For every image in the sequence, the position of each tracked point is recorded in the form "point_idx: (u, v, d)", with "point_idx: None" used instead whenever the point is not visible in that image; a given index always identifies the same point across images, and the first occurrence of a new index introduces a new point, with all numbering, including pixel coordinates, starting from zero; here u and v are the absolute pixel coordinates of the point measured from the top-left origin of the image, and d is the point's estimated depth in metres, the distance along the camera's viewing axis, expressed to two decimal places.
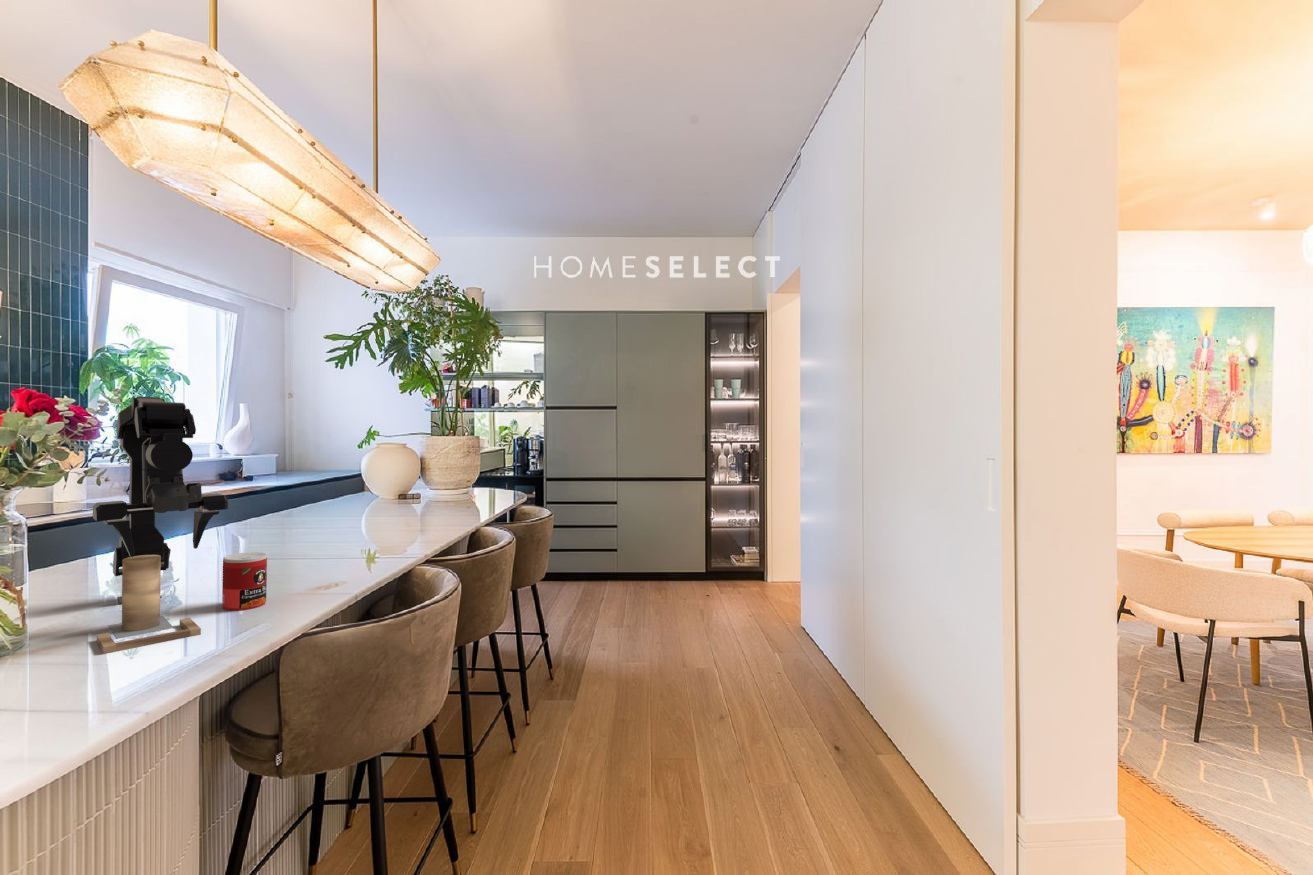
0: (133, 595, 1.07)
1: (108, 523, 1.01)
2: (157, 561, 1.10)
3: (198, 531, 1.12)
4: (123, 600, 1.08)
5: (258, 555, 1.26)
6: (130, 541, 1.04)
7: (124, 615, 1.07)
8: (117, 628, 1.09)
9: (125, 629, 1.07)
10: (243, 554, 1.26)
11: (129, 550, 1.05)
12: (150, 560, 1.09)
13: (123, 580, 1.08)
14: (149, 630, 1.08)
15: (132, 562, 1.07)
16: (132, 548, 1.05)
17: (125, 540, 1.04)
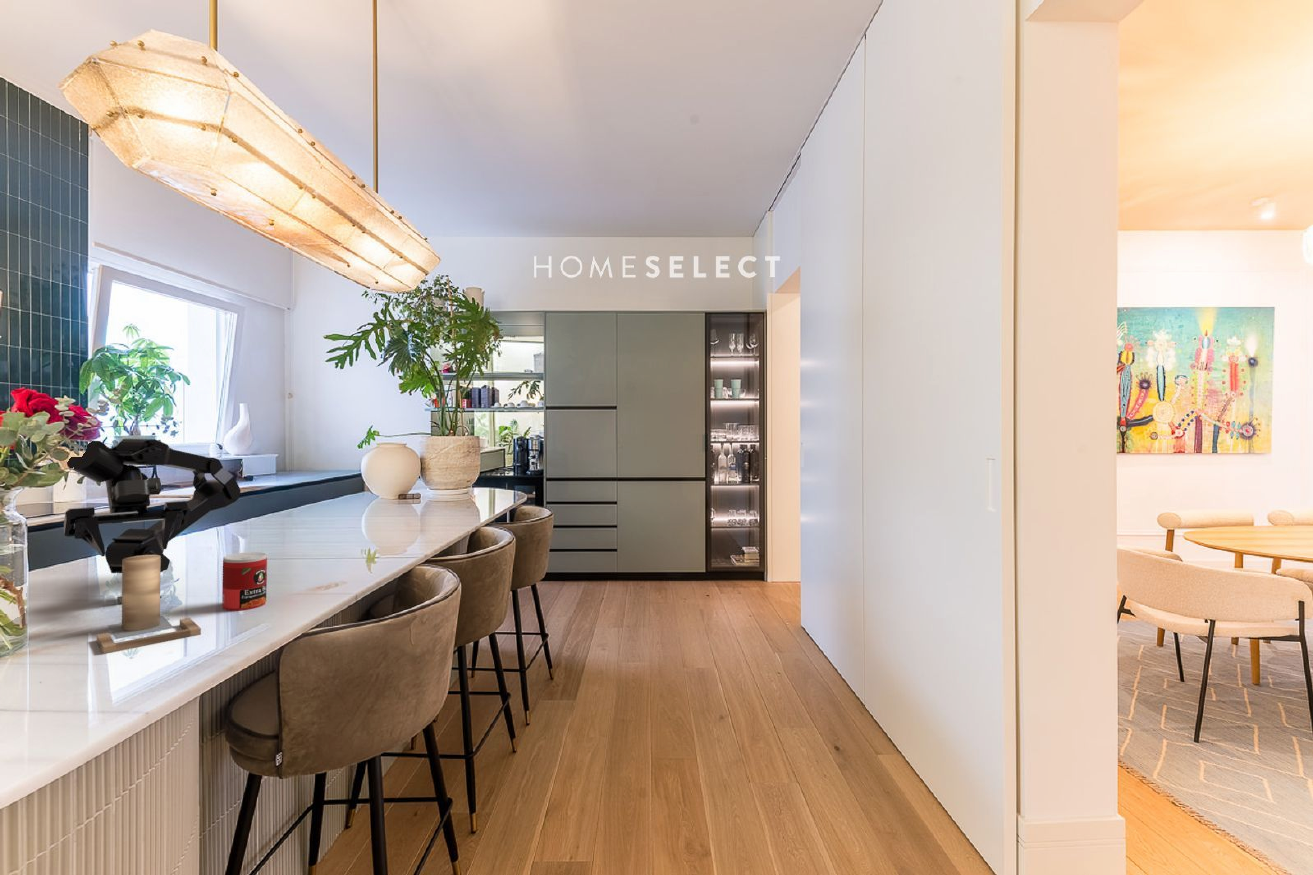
0: (133, 595, 1.07)
1: (77, 520, 1.11)
2: (157, 561, 1.10)
3: (165, 531, 1.20)
4: (123, 600, 1.08)
5: (258, 555, 1.26)
6: (100, 539, 1.12)
7: (124, 615, 1.07)
8: (117, 628, 1.09)
9: (125, 629, 1.07)
10: (243, 554, 1.26)
11: (100, 547, 1.11)
12: (150, 560, 1.09)
13: (123, 580, 1.08)
14: (149, 630, 1.08)
15: (132, 562, 1.07)
16: (103, 545, 1.12)
17: (95, 538, 1.11)
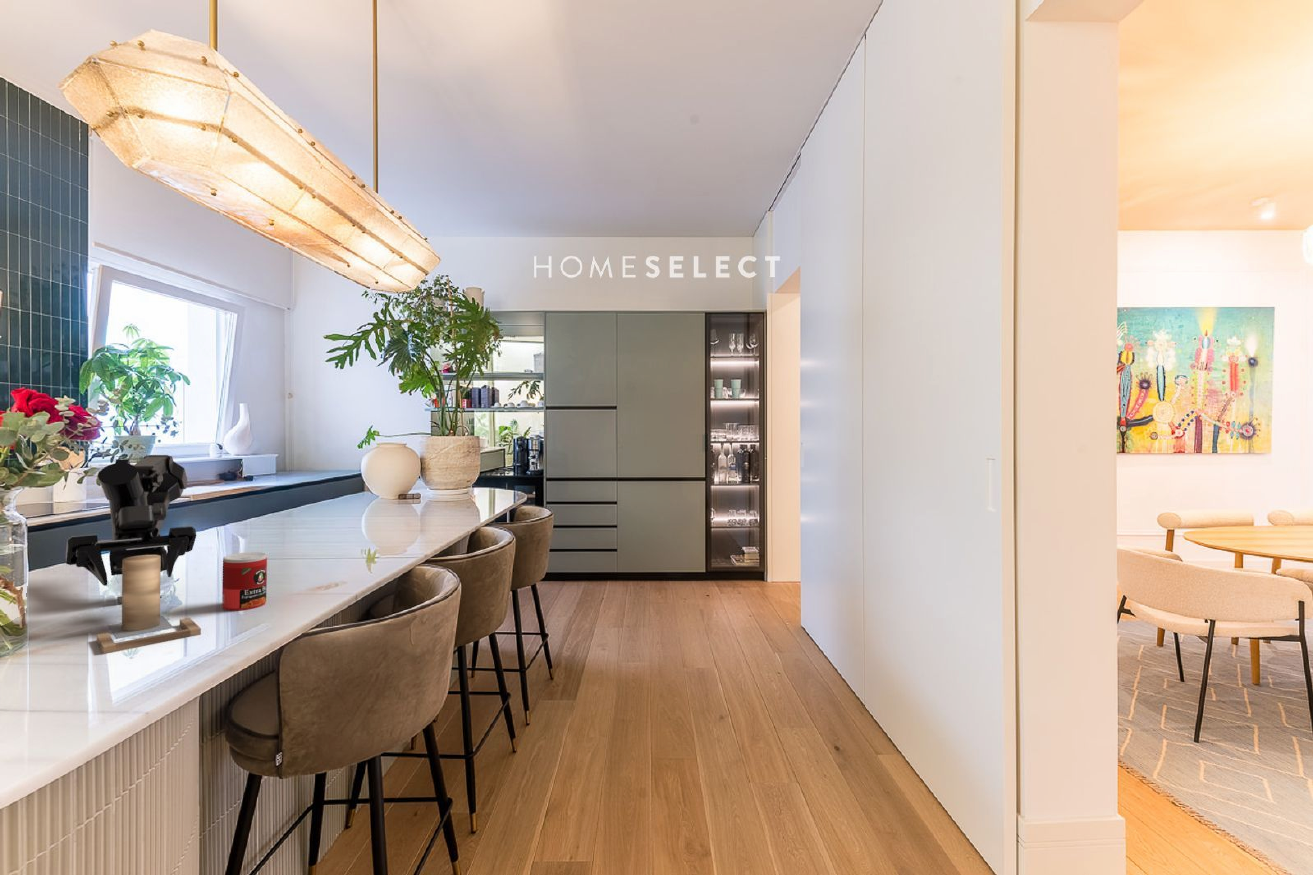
0: (133, 595, 1.07)
1: (79, 548, 1.07)
2: (157, 561, 1.10)
3: (170, 558, 1.16)
4: (123, 600, 1.08)
5: (258, 555, 1.26)
6: (102, 568, 1.08)
7: (124, 615, 1.07)
8: (117, 628, 1.09)
9: (125, 629, 1.07)
10: (243, 554, 1.26)
11: (102, 576, 1.07)
12: (150, 560, 1.09)
13: (123, 580, 1.07)
14: (149, 630, 1.08)
15: (132, 562, 1.07)
16: (105, 574, 1.08)
17: (97, 567, 1.08)
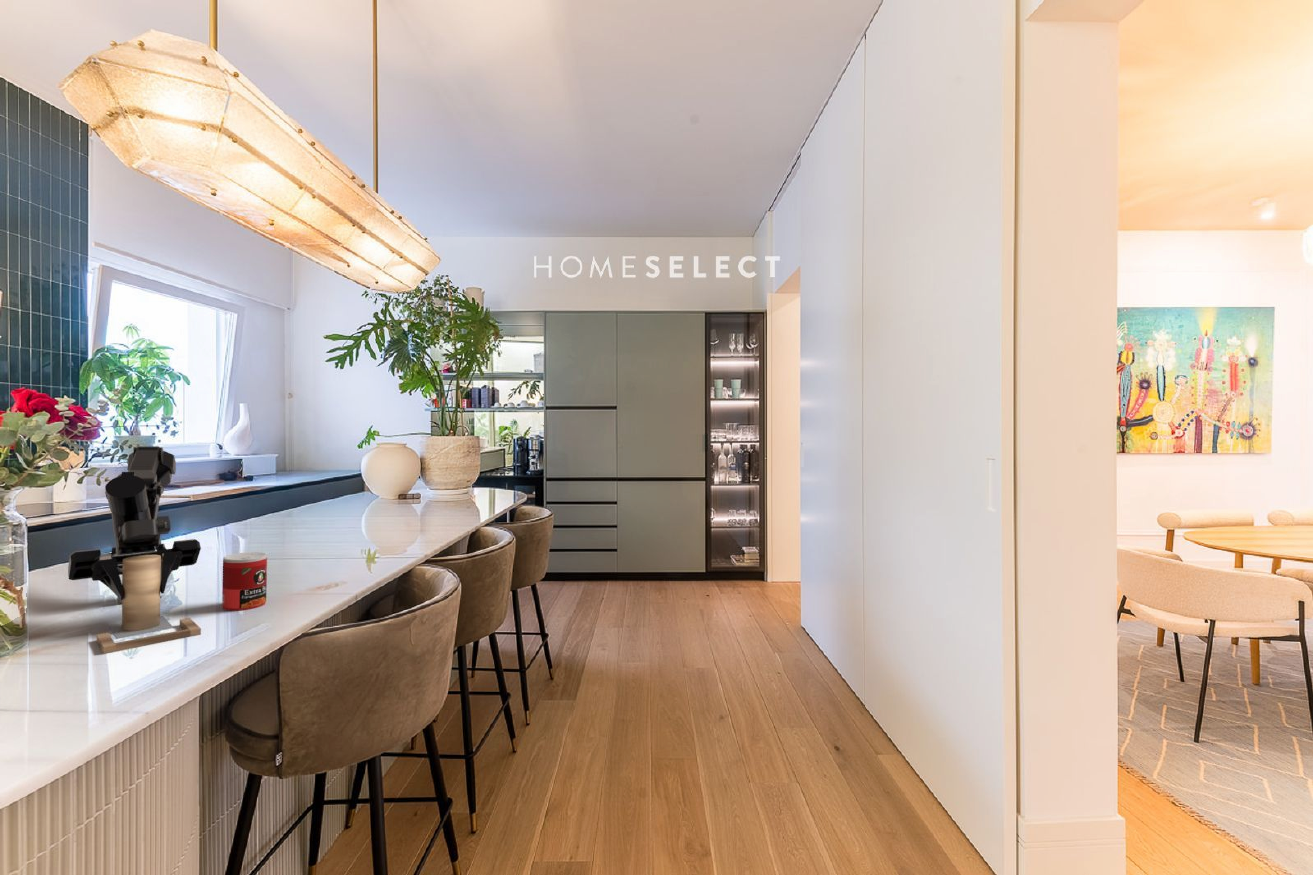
0: (133, 595, 1.07)
1: (96, 562, 1.06)
2: (157, 561, 1.10)
3: (163, 574, 1.12)
4: (123, 600, 1.08)
5: (258, 555, 1.26)
6: (119, 582, 1.08)
7: (124, 615, 1.07)
8: (117, 628, 1.09)
9: (125, 629, 1.07)
10: (243, 554, 1.26)
11: (119, 590, 1.07)
12: (150, 560, 1.09)
13: (123, 580, 1.08)
14: (149, 630, 1.08)
15: (132, 562, 1.07)
16: (121, 588, 1.07)
17: (114, 581, 1.07)
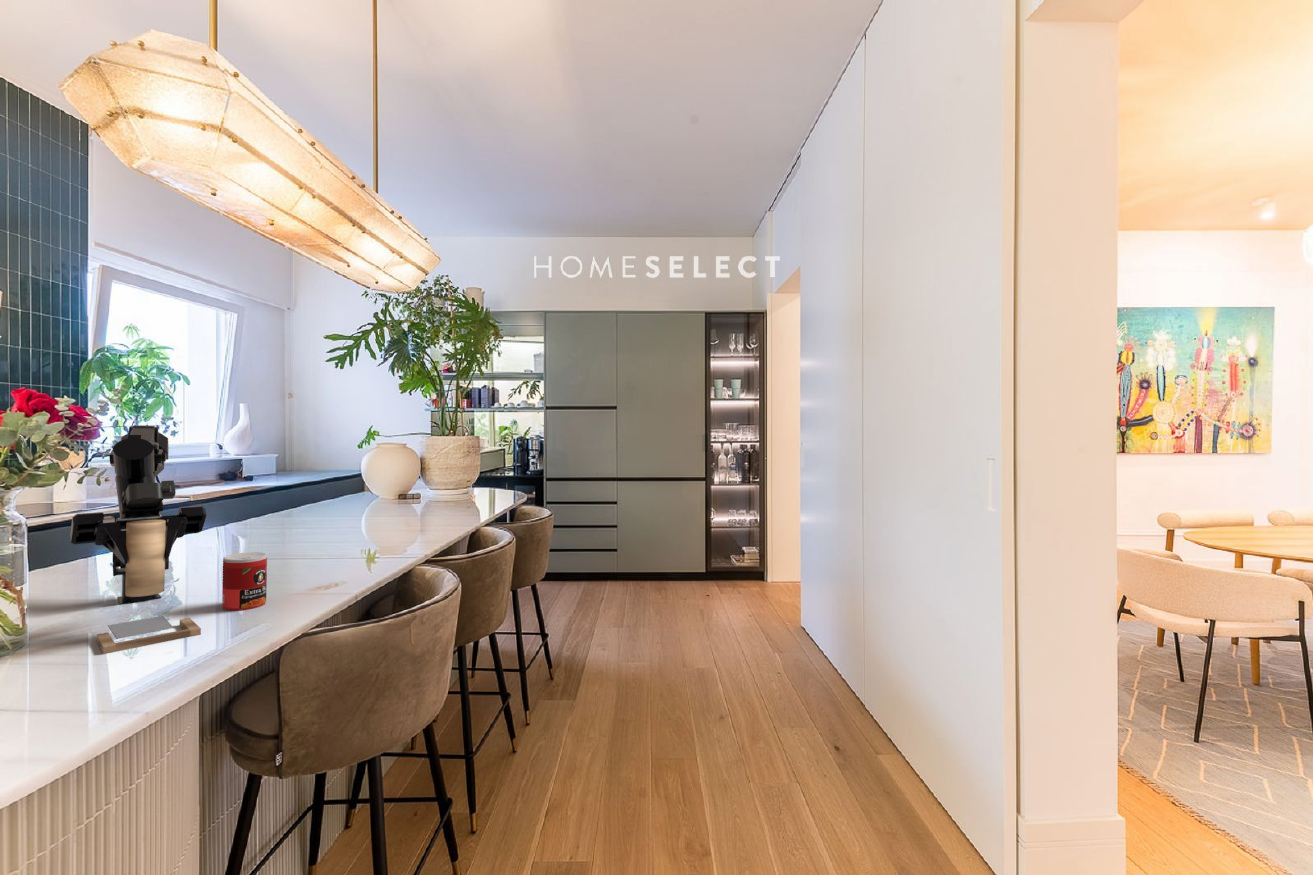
0: (137, 559, 1.04)
1: (99, 525, 1.03)
2: (162, 525, 1.07)
3: (168, 539, 1.09)
4: (127, 565, 1.04)
5: (258, 555, 1.26)
6: (122, 545, 1.04)
7: (128, 580, 1.04)
8: (117, 628, 1.09)
9: (129, 594, 1.04)
10: (243, 554, 1.26)
11: (122, 554, 1.04)
12: (154, 524, 1.06)
13: (127, 544, 1.04)
14: (149, 630, 1.08)
15: (136, 525, 1.04)
16: (125, 552, 1.04)
17: (117, 544, 1.04)
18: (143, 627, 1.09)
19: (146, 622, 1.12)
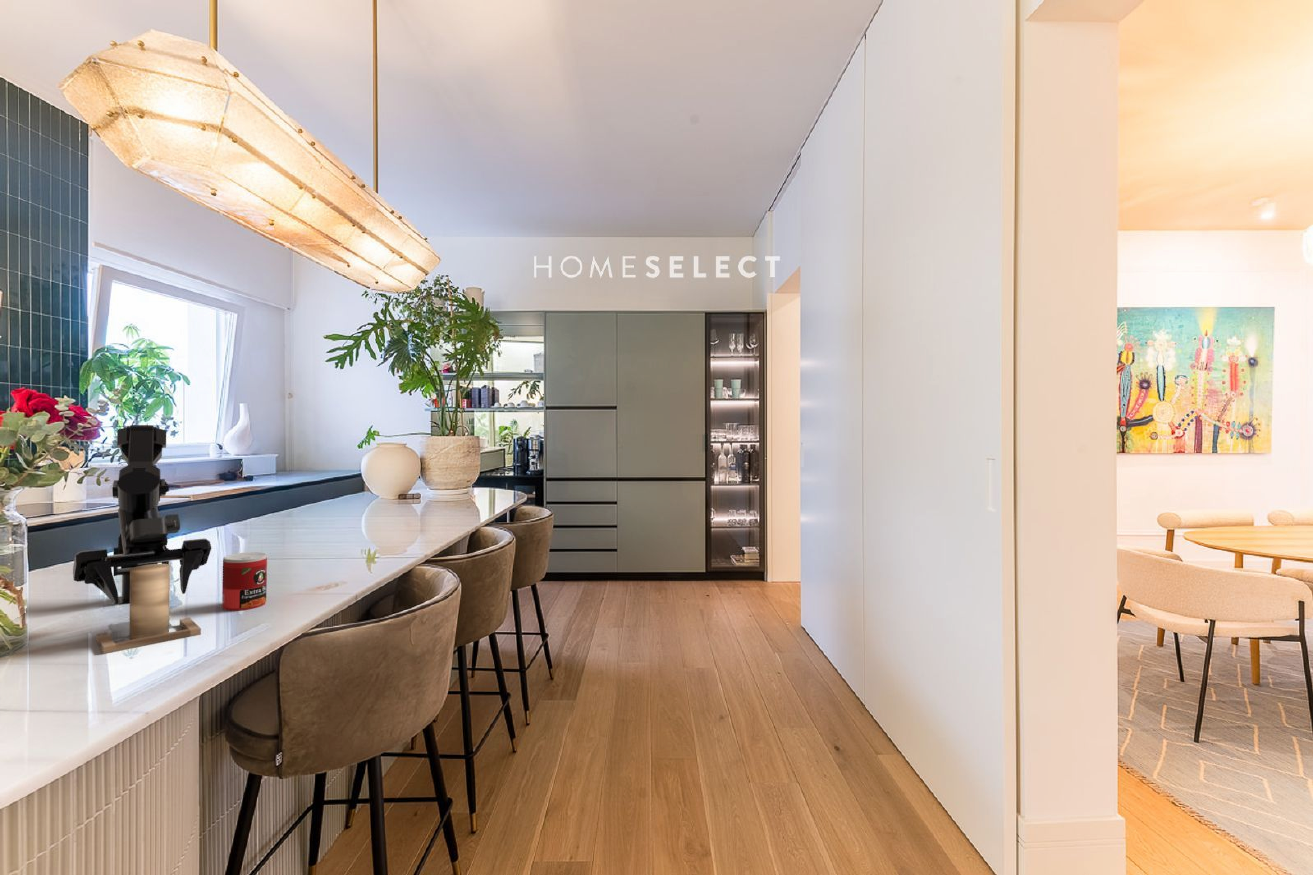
0: (141, 606, 1.02)
1: (88, 564, 1.00)
2: (166, 571, 1.05)
3: (184, 573, 1.09)
4: (130, 612, 1.03)
5: (258, 555, 1.26)
6: (113, 585, 1.01)
7: (132, 628, 1.02)
8: (117, 628, 1.09)
9: None
10: (243, 554, 1.26)
11: (113, 594, 1.00)
12: (159, 570, 1.04)
13: (131, 591, 1.02)
14: None
15: (140, 572, 1.02)
16: (116, 592, 1.01)
17: (108, 584, 1.01)
18: None
19: None
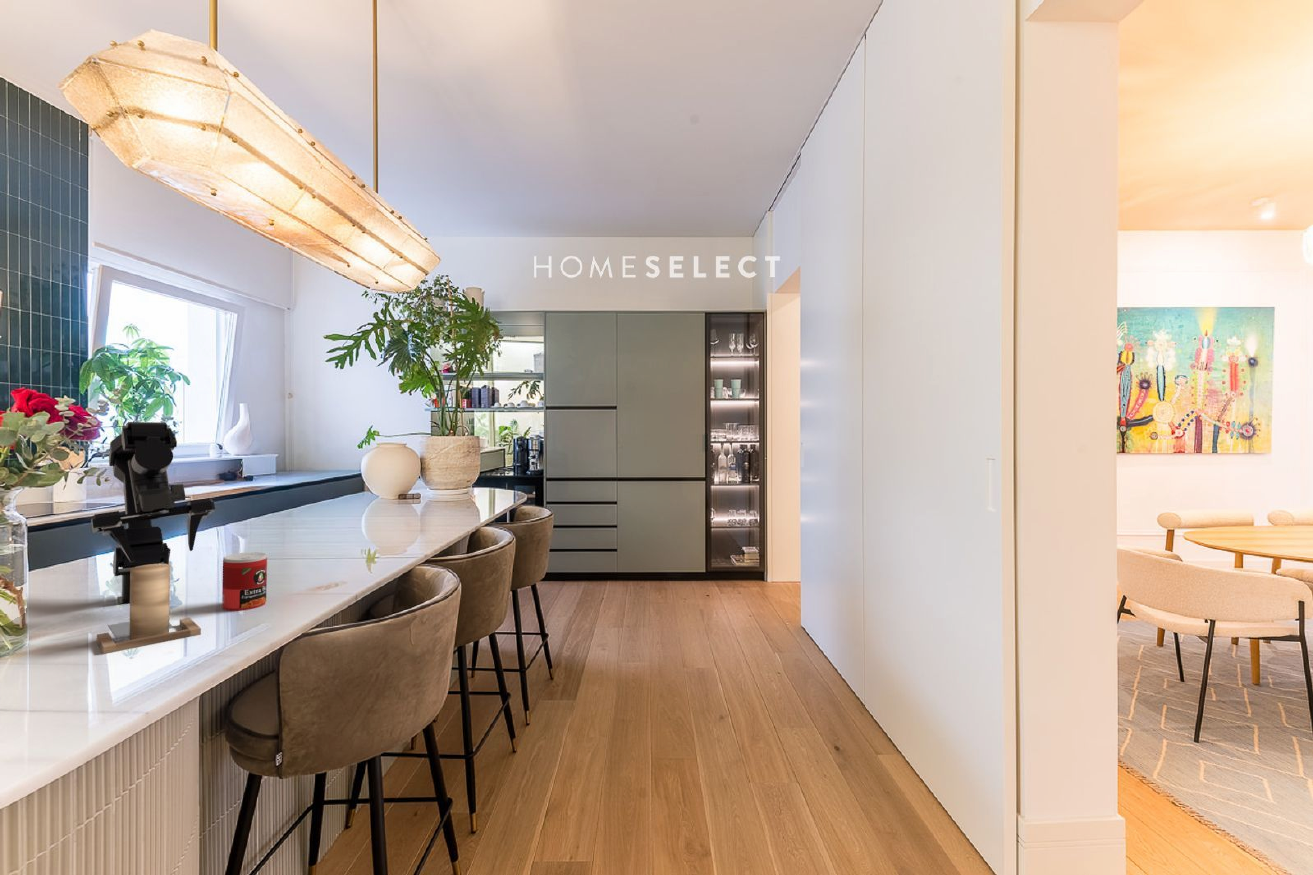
0: (142, 606, 1.02)
1: (104, 529, 1.11)
2: (166, 571, 1.05)
3: (191, 533, 1.21)
4: (131, 612, 1.03)
5: (258, 555, 1.26)
6: (128, 546, 1.14)
7: (132, 628, 1.02)
8: (117, 628, 1.09)
9: None
10: (243, 554, 1.26)
11: (128, 555, 1.14)
12: (159, 570, 1.04)
13: (131, 591, 1.02)
14: None
15: (140, 572, 1.02)
16: (131, 553, 1.14)
17: (123, 546, 1.13)
18: None
19: None
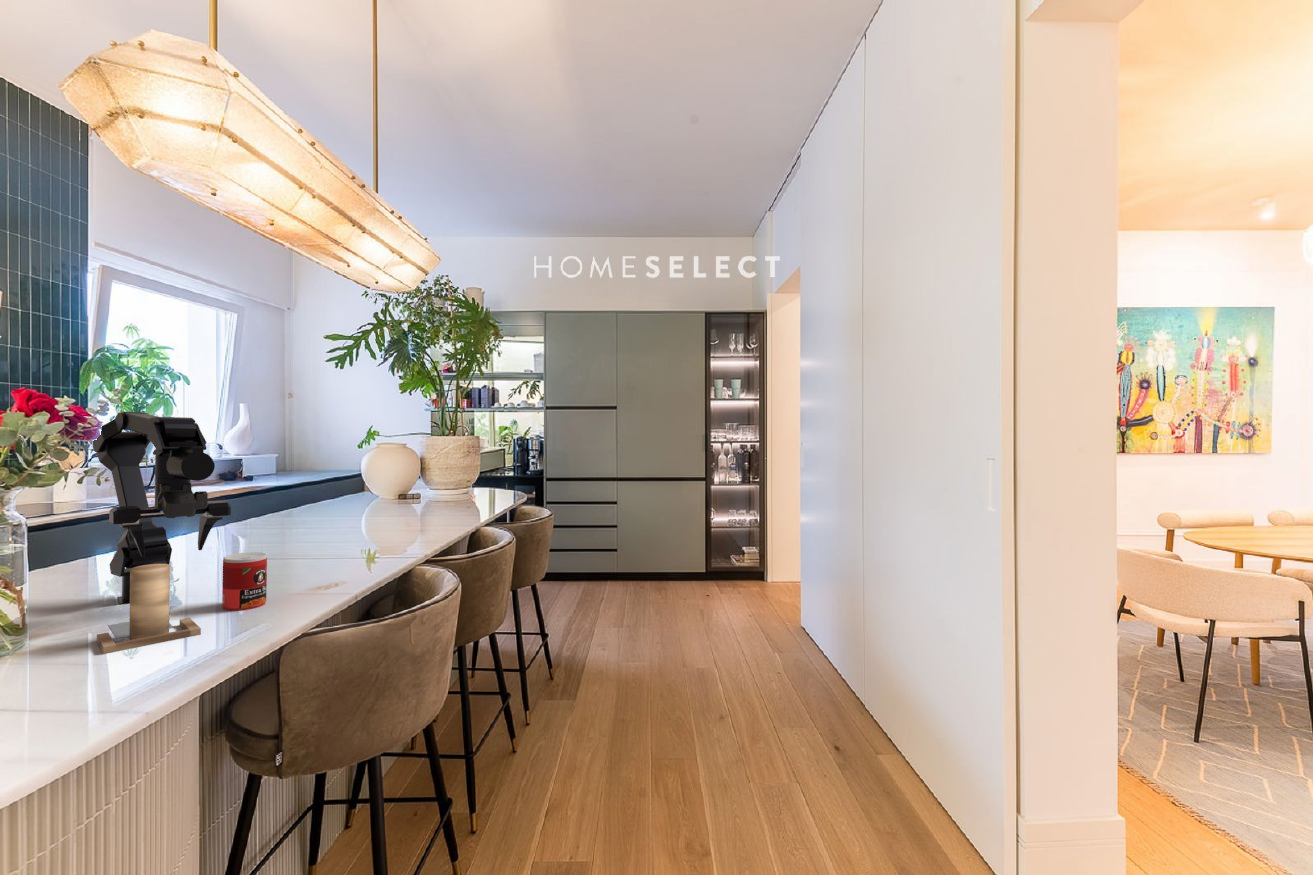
0: (142, 606, 1.02)
1: (123, 526, 1.13)
2: (166, 571, 1.05)
3: (203, 534, 1.23)
4: (130, 612, 1.03)
5: (258, 555, 1.26)
6: (142, 542, 1.16)
7: (132, 628, 1.02)
8: (117, 628, 1.09)
9: None
10: (243, 554, 1.26)
11: (141, 551, 1.16)
12: (159, 570, 1.04)
13: (131, 591, 1.02)
14: None
15: (140, 572, 1.02)
16: (143, 549, 1.16)
17: (137, 542, 1.15)
18: None
19: None
